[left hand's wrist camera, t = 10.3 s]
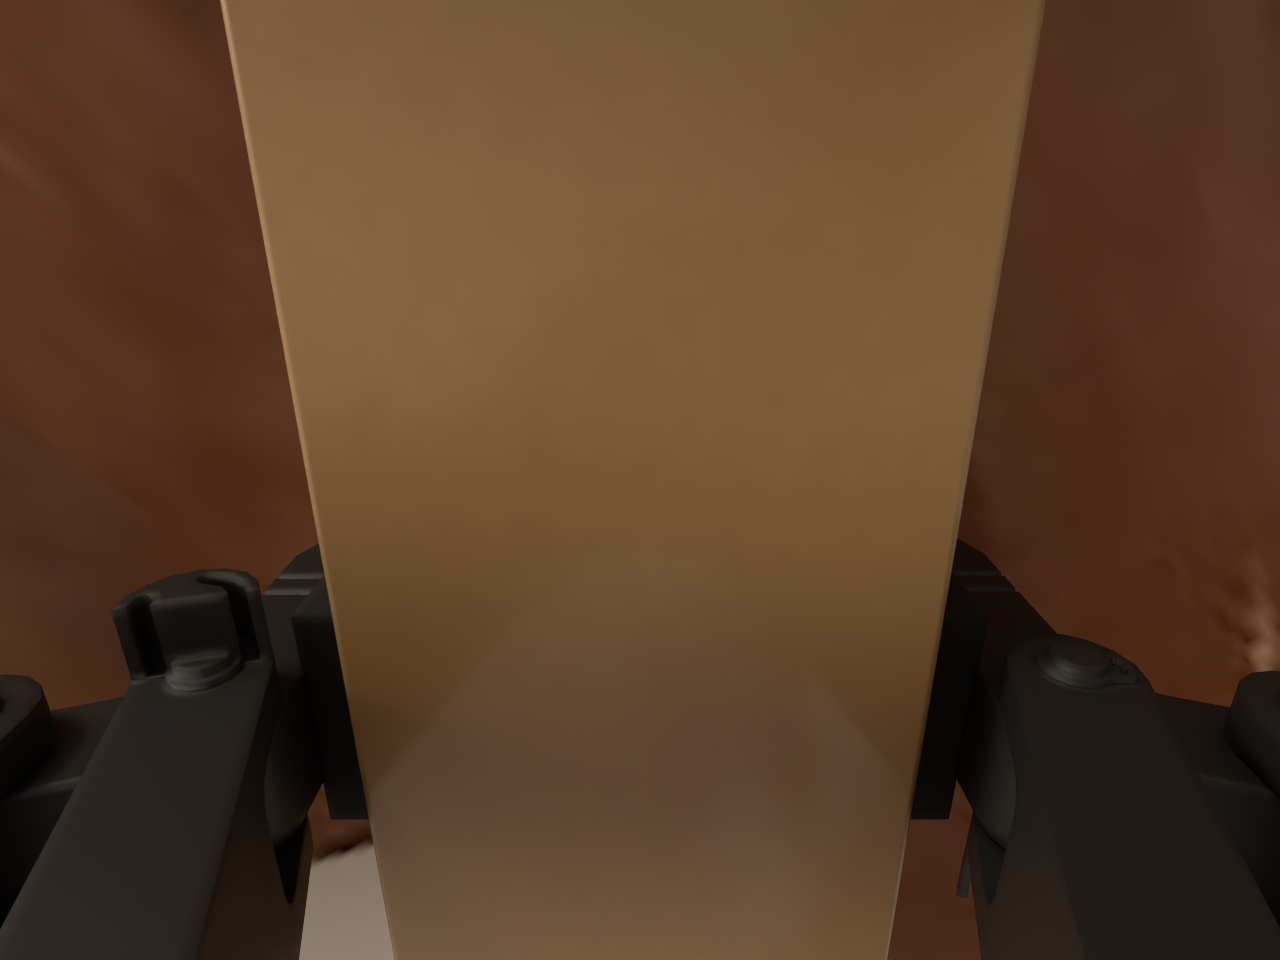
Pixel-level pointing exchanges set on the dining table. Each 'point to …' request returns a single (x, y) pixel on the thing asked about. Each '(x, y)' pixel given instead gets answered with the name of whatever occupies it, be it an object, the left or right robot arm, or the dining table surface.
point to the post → (636, 439)
